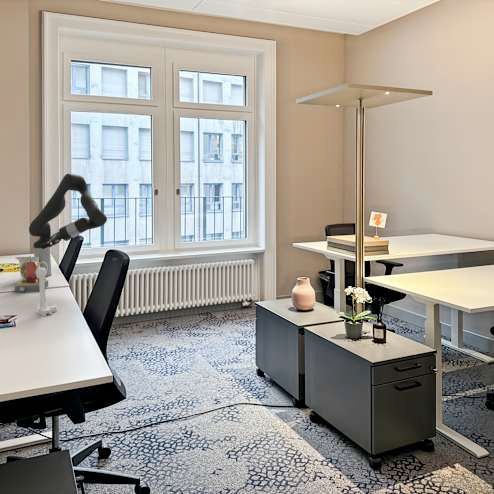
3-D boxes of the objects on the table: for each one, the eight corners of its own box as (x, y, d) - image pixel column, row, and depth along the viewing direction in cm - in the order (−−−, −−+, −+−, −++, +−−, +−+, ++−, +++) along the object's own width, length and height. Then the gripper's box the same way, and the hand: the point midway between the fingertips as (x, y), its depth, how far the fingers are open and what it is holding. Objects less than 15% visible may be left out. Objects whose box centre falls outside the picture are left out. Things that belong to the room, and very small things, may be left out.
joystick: (35, 311, 225) (33, 266, 222) (53, 308, 229) (51, 264, 226) (40, 316, 216) (37, 269, 213) (59, 314, 220) (56, 267, 217)
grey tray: (21, 287, 277) (20, 279, 276) (48, 285, 280) (47, 278, 279) (13, 293, 261) (12, 285, 261) (42, 292, 264) (42, 284, 264)
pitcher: (45, 282, 290) (43, 258, 289) (12, 282, 289) (11, 258, 288) (51, 278, 301) (50, 255, 300) (20, 279, 300) (18, 255, 299)
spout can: (27, 282, 274) (26, 254, 272) (38, 282, 275) (37, 254, 273) (25, 284, 268) (24, 256, 267) (36, 284, 269) (35, 256, 268)
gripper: (69, 221, 278) (42, 234, 278) (63, 229, 264) (36, 243, 265) (76, 232, 280) (50, 245, 281) (71, 241, 267) (44, 255, 268)
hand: (43, 244), depth 273 cm, fingers open, 8 cm apart
